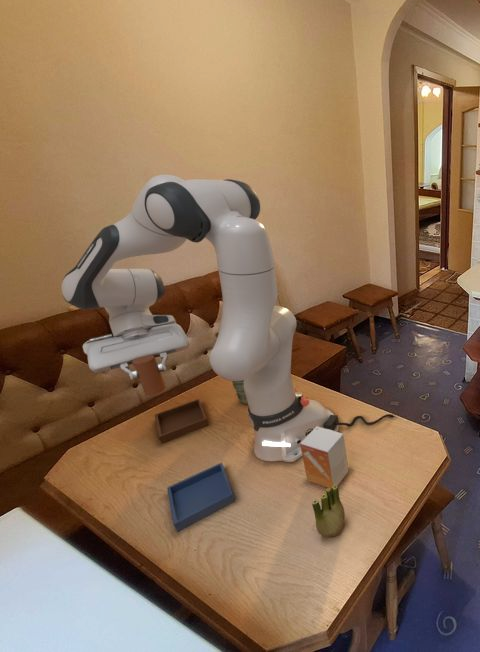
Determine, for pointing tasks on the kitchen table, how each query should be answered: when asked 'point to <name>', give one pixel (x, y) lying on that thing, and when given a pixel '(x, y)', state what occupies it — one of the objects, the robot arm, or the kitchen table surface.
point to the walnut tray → (180, 420)
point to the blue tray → (199, 496)
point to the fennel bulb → (329, 513)
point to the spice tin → (149, 374)
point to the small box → (324, 457)
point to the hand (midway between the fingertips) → (149, 374)
